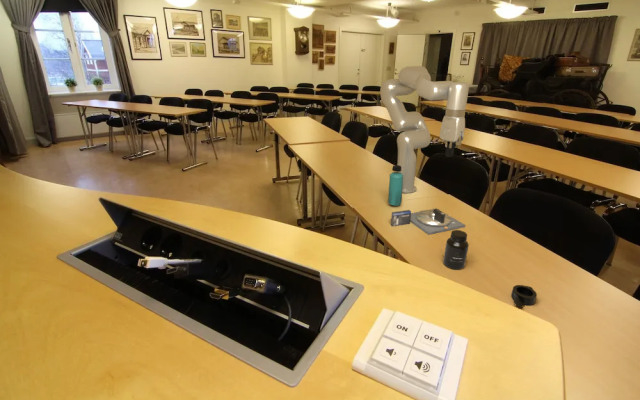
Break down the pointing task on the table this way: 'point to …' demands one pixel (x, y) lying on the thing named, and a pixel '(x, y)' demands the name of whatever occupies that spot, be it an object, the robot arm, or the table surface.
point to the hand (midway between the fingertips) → (449, 156)
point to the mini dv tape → (400, 218)
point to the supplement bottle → (456, 250)
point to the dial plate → (432, 230)
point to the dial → (433, 218)
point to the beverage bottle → (395, 186)
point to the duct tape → (523, 295)
